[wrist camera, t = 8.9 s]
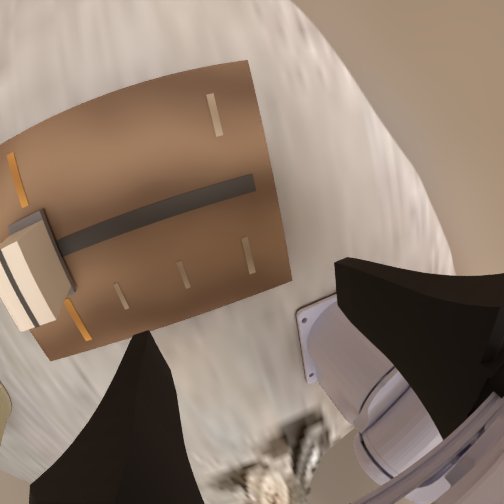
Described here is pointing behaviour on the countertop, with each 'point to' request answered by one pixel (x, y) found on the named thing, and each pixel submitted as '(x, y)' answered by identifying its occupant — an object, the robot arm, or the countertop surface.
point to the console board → (150, 204)
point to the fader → (33, 273)
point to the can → (4, 409)
